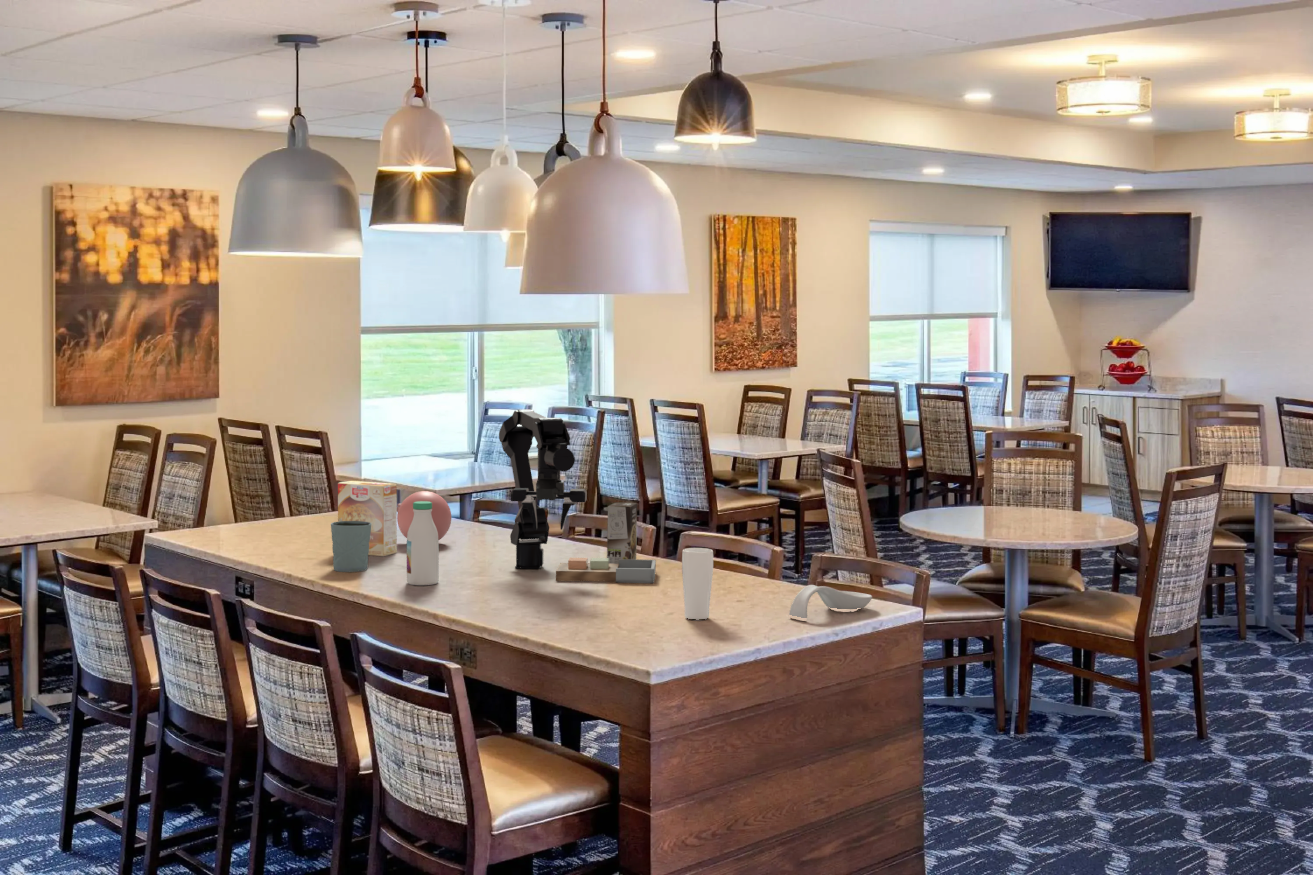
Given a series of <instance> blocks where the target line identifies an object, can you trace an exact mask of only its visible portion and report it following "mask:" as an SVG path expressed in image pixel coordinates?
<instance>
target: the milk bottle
mask: <svg viewBox="0 0 1313 875" xmlns="http://www.w3.org/2000/svg"><path fill="white" fill-rule="evenodd" d="M413 511H414V517H413V520H412V523H411V525H410V527H409V530H408V534H407V538H406V583H407V584H408V585H412V586H431V585H435V584H438V583H439V577H440V574H439V573H440V571H439V570H440V569H439V568H440V567H439V566H440V564H439V563H440V562H439V560H440V558H439V557H440V556H439V555H440V554H439V549H440V548H439V541H438V532H437V529H436V526H435V524H434V522H433V519H432V516H431V511H432V502H428V501H418V502H414V503H413Z"/></svg>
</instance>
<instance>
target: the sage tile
mask: <svg viewBox="0 0 1313 875" xmlns="http://www.w3.org/2000/svg"><path fill="white" fill-rule="evenodd" d="M589 563H590V569H608V568H609V558H607V557H591V558H590V560H589Z"/></svg>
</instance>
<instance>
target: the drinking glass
mask: <svg viewBox="0 0 1313 875" xmlns="http://www.w3.org/2000/svg"><path fill="white" fill-rule="evenodd" d="M681 554H682V555H681V572H682V573H681V574H682V575H681V576H682V585H683V586H682V587H683V602H684V617H685V619H687V618H688V619H687V620H689V619H696V620H695V621H700V620H699V619H705V620H708V619H709V617H710V605H711V604H710V603H711V594H712V592H711V591H712V586H713V584H712V583H713V574H714V573H713V572H714V551H713V549H711V548H706V547H688V548H683V549H682V553H681ZM707 618H708V619H707Z"/></svg>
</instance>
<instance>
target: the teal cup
mask: <svg viewBox="0 0 1313 875" xmlns="http://www.w3.org/2000/svg"><path fill="white" fill-rule="evenodd" d="M330 532H331V541H332V546H331V547H332V554H333V556H332V561H333V562H332V564H333V570H334V571H335V572H340V573H357V572H358V573H359V572H364V571H367V569H368V567H369V566H368V565H369V564H368V563H369V555H368V554H369V541H370V532H371V523H370V522H364V521H339V522H338V521H334V522H331V523H330Z"/></svg>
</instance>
